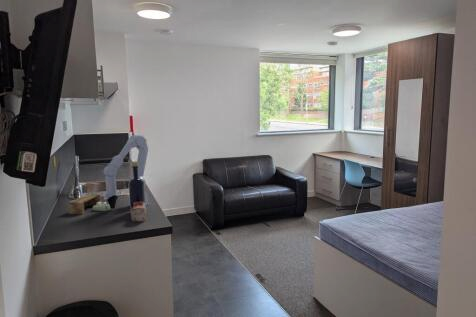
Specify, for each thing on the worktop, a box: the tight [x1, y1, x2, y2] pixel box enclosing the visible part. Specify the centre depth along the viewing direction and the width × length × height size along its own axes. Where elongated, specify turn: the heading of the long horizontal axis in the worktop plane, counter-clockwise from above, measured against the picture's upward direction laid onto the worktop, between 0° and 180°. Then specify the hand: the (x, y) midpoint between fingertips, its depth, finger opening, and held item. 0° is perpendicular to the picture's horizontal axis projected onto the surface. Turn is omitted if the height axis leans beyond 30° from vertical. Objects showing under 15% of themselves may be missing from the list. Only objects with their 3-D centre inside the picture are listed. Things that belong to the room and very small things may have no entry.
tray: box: [92, 201, 112, 212], centre depth 206 cm, size 9×5×4 cm, turn 80°
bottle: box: [128, 161, 145, 214], centre depth 198 cm, size 9×9×30 cm
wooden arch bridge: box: [68, 193, 103, 215], centre depth 208 cm, size 9×19×7 cm, turn 170°
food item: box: [130, 201, 147, 223], centre depth 187 cm, size 14×8×10 cm, turn 14°
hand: (112, 208), depth 205 cm, fingers closed
